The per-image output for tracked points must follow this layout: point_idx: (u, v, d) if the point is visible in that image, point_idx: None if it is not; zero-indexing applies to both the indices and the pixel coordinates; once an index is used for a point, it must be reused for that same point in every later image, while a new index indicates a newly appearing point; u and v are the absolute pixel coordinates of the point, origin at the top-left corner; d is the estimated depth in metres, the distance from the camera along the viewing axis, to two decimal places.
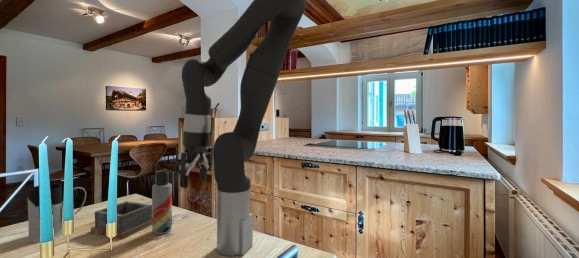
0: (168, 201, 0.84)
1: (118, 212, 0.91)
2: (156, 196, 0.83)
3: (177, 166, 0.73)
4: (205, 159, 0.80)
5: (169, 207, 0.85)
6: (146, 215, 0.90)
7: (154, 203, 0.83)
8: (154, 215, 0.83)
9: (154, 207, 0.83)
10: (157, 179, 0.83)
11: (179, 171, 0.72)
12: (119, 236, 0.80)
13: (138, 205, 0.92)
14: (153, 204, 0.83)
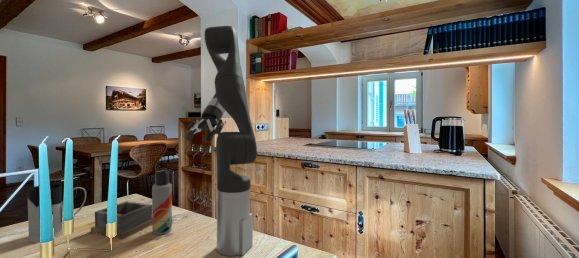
0: (168, 201, 0.84)
1: (118, 212, 0.91)
2: (156, 196, 0.83)
3: None
4: (209, 123, 1.04)
5: (169, 207, 0.85)
6: (146, 215, 0.90)
7: (154, 203, 0.83)
8: (154, 215, 0.83)
9: (154, 207, 0.83)
10: (157, 179, 0.83)
11: None
12: (119, 236, 0.80)
13: (138, 205, 0.92)
14: (153, 204, 0.83)
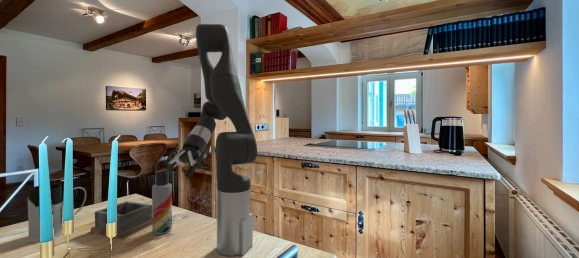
0: (168, 201, 0.84)
1: (118, 212, 0.91)
2: (156, 196, 0.83)
3: None
4: (190, 156, 0.94)
5: (169, 207, 0.85)
6: (146, 215, 0.90)
7: (154, 203, 0.83)
8: (154, 215, 0.83)
9: (154, 207, 0.83)
10: (157, 179, 0.83)
11: None
12: (119, 236, 0.80)
13: (138, 205, 0.92)
14: (153, 204, 0.83)
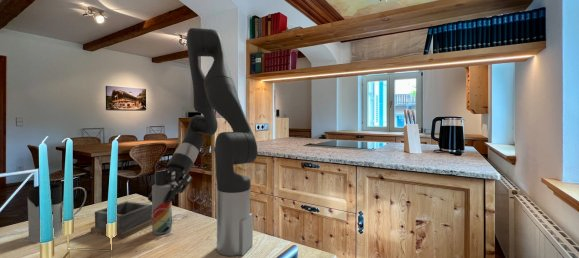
0: None
1: (118, 212, 0.91)
2: (156, 196, 0.83)
3: None
4: (173, 178, 0.87)
5: (169, 207, 0.85)
6: (146, 215, 0.90)
7: (154, 203, 0.83)
8: (154, 215, 0.83)
9: (154, 207, 0.83)
10: (157, 179, 0.83)
11: None
12: (119, 236, 0.80)
13: (138, 205, 0.92)
14: (153, 204, 0.83)
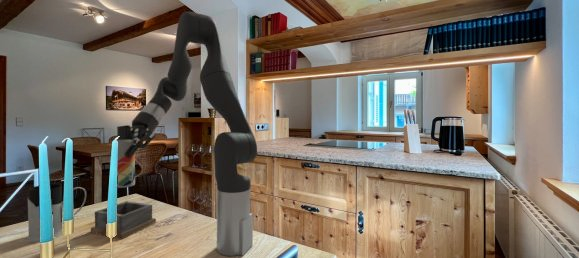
0: None
1: (118, 212, 0.91)
2: None
3: None
4: (135, 134, 0.88)
5: (131, 161, 0.87)
6: (146, 215, 0.90)
7: None
8: None
9: None
10: (118, 133, 0.85)
11: None
12: (119, 236, 0.80)
13: (138, 205, 0.92)
14: None
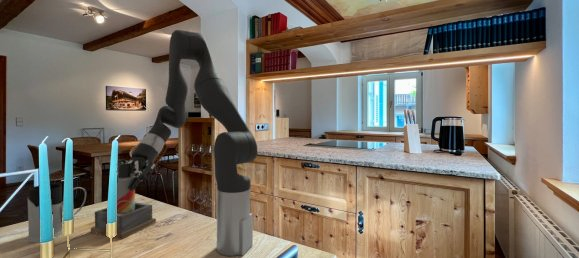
0: (130, 193, 0.87)
1: None
2: (118, 188, 0.85)
3: None
4: (136, 167, 0.89)
5: (131, 199, 0.87)
6: (146, 215, 0.90)
7: None
8: None
9: None
10: (119, 172, 0.86)
11: None
12: (119, 236, 0.80)
13: (138, 205, 0.92)
14: None
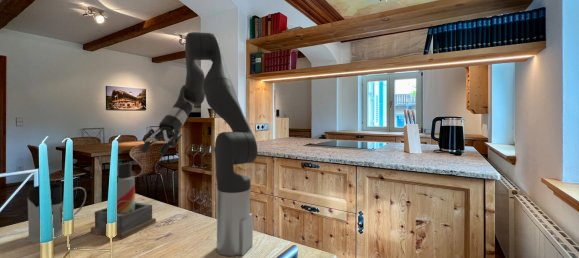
0: (130, 193, 0.87)
1: None
2: (118, 188, 0.85)
3: None
4: (165, 134, 1.01)
5: (131, 199, 0.87)
6: (146, 215, 0.90)
7: None
8: None
9: None
10: (119, 172, 0.86)
11: None
12: (119, 236, 0.80)
13: (138, 205, 0.92)
14: None
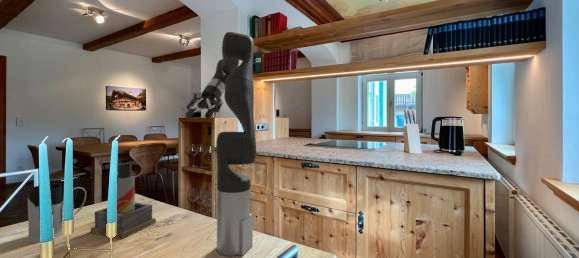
0: (130, 193, 0.87)
1: None
2: (118, 188, 0.85)
3: None
4: (208, 102, 1.08)
5: (131, 199, 0.87)
6: (146, 215, 0.90)
7: None
8: None
9: None
10: (119, 172, 0.86)
11: None
12: (119, 236, 0.80)
13: (138, 205, 0.92)
14: None
